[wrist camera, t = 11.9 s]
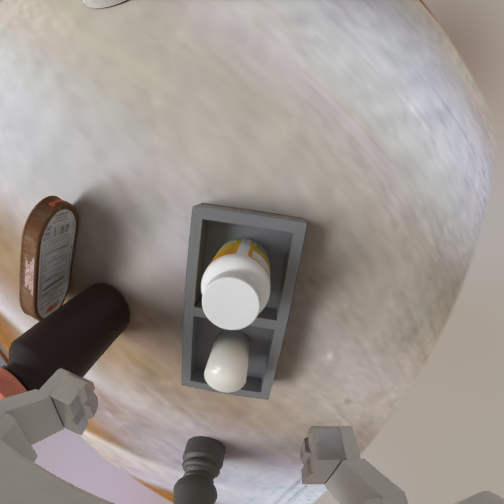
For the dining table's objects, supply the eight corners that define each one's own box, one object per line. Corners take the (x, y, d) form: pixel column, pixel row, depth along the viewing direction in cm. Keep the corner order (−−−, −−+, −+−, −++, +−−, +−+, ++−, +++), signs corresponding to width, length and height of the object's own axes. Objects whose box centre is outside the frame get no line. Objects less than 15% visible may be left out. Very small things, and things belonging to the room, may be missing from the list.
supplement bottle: (211, 283, 29) (187, 329, 20) (220, 232, 28) (196, 259, 18) (263, 294, 29) (261, 346, 20) (275, 243, 28) (279, 276, 18)
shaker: (215, 326, 30) (205, 357, 24) (252, 332, 30) (249, 364, 24) (213, 355, 31) (203, 388, 25) (247, 361, 31) (243, 395, 25)
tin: (70, 192, 28) (22, 199, 20) (88, 199, 29) (40, 208, 20) (55, 298, 32) (17, 323, 24) (71, 308, 32) (34, 336, 24)
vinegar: (98, 270, 30) (-26, 354, 11) (140, 308, 31) (38, 425, 12) (79, 306, 32) (-24, 391, 13) (116, 341, 33) (30, 447, 13)
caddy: (201, 203, 28) (192, 206, 25) (302, 218, 28) (306, 223, 24) (188, 367, 33) (181, 384, 30) (268, 381, 33) (268, 399, 29)
